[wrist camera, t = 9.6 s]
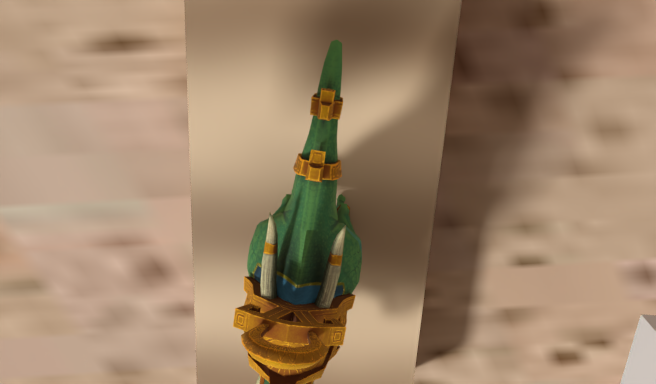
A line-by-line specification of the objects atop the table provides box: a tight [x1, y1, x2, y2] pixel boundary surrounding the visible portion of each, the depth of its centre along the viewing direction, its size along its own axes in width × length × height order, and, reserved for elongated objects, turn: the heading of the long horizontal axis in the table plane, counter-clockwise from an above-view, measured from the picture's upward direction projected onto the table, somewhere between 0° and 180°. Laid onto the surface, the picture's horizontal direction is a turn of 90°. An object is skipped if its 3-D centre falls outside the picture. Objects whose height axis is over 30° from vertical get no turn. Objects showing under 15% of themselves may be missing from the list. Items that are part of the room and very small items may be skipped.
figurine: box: [233, 40, 362, 384], centre depth 14 cm, size 3×12×8 cm, turn 171°
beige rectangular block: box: [184, 0, 462, 384], centre depth 19 cm, size 16×8×3 cm, turn 177°
